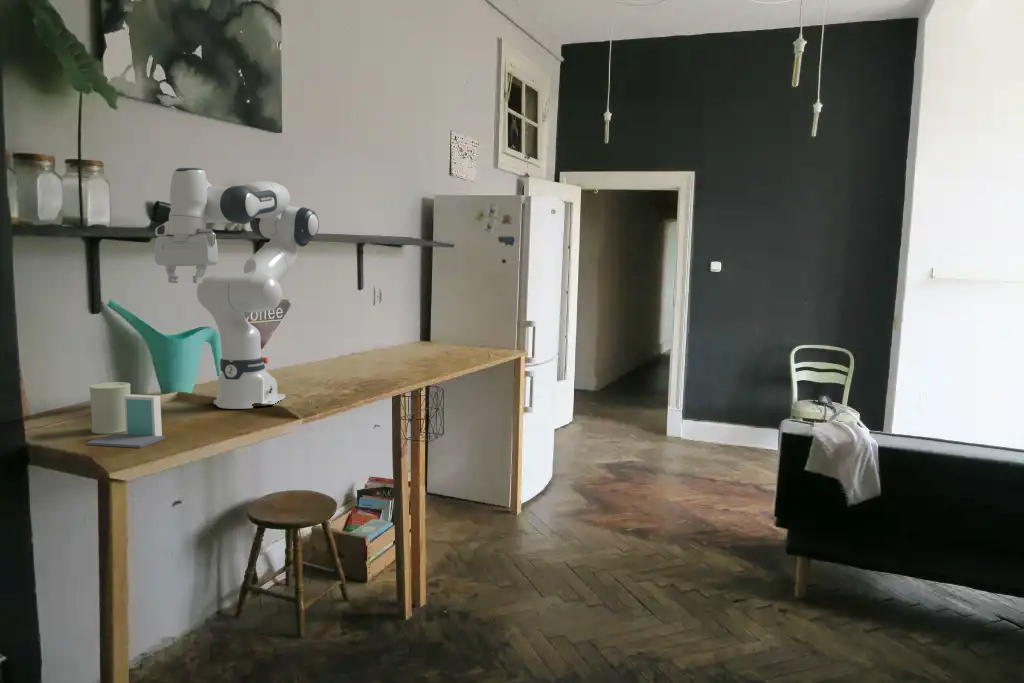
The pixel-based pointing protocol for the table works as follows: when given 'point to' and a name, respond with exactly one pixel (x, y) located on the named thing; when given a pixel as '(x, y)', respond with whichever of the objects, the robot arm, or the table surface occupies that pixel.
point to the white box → (143, 415)
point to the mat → (126, 440)
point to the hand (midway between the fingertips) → (185, 283)
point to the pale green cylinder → (108, 407)
